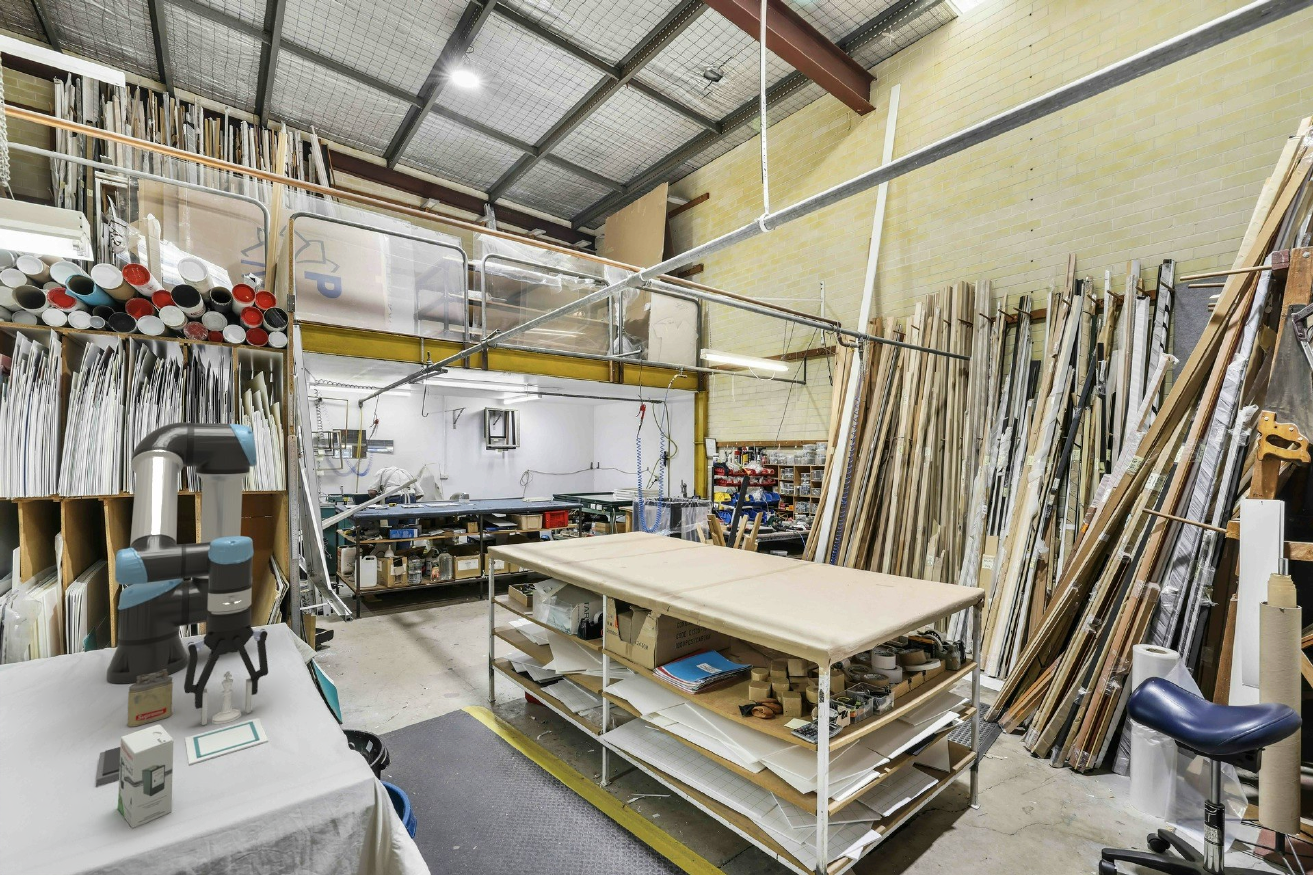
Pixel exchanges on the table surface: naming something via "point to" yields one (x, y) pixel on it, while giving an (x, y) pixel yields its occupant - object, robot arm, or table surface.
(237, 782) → the table surface
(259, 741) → the print card
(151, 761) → the ink box
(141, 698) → the lighter
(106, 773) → the ink pad
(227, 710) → the chess piece
